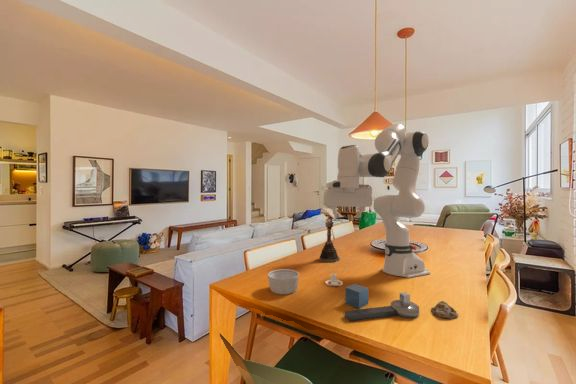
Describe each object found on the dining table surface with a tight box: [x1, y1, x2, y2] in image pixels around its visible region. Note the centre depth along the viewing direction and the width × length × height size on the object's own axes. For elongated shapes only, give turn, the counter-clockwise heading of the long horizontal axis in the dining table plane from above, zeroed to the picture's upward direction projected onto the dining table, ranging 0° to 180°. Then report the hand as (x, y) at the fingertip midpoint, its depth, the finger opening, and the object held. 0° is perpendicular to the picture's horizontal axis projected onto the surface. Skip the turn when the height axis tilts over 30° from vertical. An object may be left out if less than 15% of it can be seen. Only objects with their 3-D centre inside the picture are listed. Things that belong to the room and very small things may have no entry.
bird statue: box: [319, 206, 346, 263], centre depth 162 cm, size 17×13×35 cm
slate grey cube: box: [344, 283, 369, 309], centre depth 102 cm, size 6×6×6 cm
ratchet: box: [344, 291, 420, 323], centre depth 93 cm, size 26×9×6 cm, turn 102°
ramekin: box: [267, 268, 300, 296], centre depth 116 cm, size 13×13×7 cm
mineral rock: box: [430, 300, 459, 320], centre depth 94 cm, size 11×4×8 cm
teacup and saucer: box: [325, 273, 344, 287], centre depth 124 cm, size 9×8×4 cm
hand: (347, 217), depth 113 cm, fingers open, 8 cm apart
